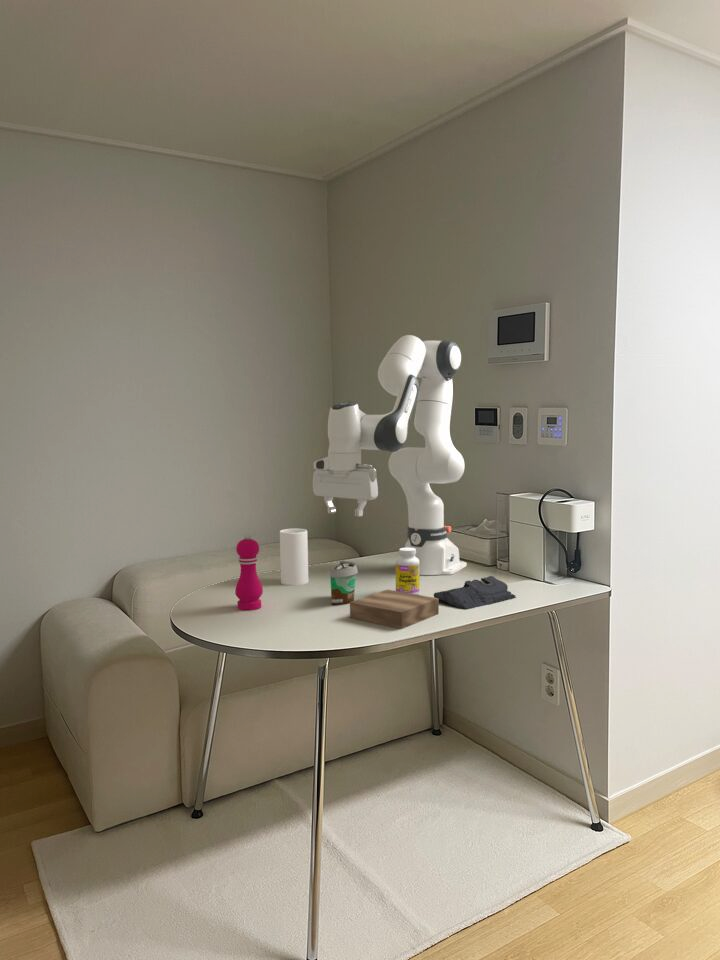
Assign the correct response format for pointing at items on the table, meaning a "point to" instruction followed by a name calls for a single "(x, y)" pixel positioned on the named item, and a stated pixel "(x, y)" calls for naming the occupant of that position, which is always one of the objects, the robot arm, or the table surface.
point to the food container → (343, 583)
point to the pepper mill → (248, 575)
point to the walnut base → (394, 608)
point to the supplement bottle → (407, 571)
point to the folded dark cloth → (476, 593)
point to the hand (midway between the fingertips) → (345, 514)
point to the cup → (294, 556)
